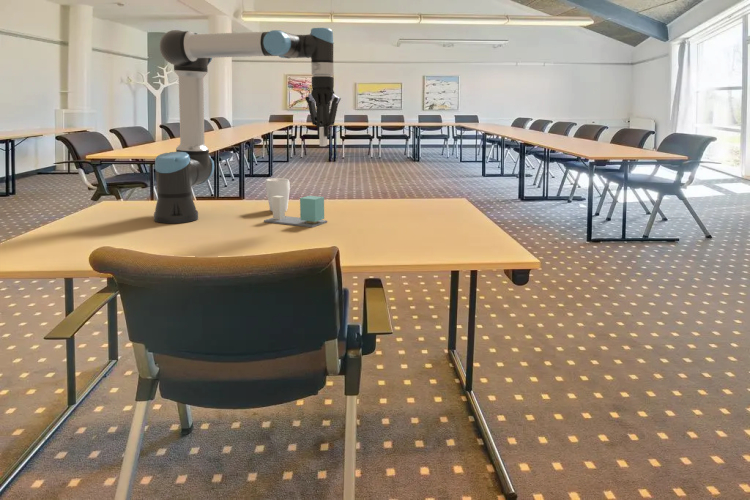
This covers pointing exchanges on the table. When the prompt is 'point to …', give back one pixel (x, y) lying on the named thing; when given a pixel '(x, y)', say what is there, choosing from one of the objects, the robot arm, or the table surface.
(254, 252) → the table surface
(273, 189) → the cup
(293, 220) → the post board
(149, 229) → the table surface
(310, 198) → the teal cube block
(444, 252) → the table surface
